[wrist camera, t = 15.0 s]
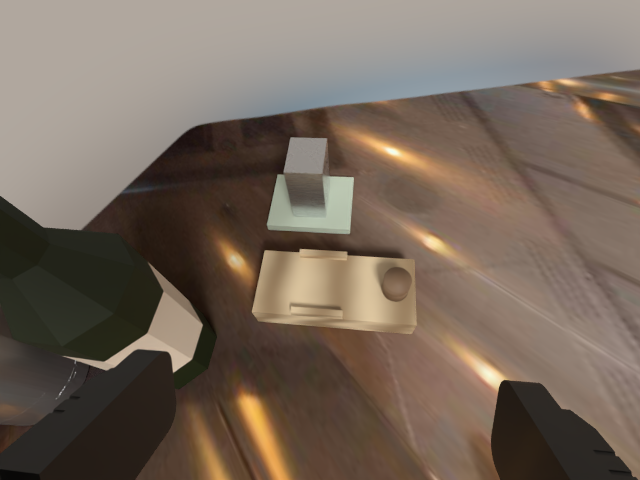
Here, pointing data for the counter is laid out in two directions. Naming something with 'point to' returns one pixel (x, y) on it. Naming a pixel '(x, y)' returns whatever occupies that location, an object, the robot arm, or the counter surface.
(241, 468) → the counter surface
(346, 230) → the pad
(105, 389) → the robot arm
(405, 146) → the counter surface
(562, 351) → the counter surface
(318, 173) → the grey upright block
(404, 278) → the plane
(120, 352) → the wine bottle
